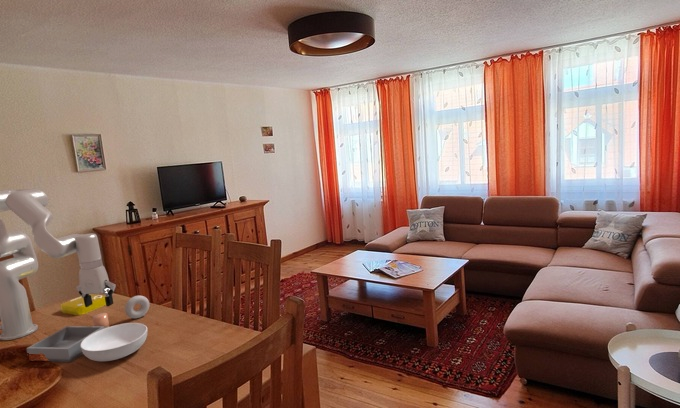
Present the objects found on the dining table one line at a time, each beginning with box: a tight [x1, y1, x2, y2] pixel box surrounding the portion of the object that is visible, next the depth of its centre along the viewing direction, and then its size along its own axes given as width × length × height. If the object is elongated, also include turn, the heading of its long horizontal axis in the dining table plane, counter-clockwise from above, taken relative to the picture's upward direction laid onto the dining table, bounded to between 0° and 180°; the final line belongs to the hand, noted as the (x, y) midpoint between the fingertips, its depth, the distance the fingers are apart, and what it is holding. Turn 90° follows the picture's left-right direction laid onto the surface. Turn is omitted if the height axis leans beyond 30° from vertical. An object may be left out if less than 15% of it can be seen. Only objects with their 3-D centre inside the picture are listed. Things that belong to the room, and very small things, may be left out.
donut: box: [124, 295, 150, 319], centre depth 170 cm, size 10×3×10 cm, turn 136°
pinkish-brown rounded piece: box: [91, 312, 110, 328], centre depth 158 cm, size 5×5×7 cm
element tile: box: [60, 293, 106, 316], centre depth 187 cm, size 15×15×5 cm
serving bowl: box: [80, 322, 148, 362], centre depth 139 cm, size 21×21×7 cm
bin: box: [26, 325, 105, 363], centre depth 145 cm, size 17×17×5 cm
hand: (99, 305), depth 157 cm, fingers open, 9 cm apart
